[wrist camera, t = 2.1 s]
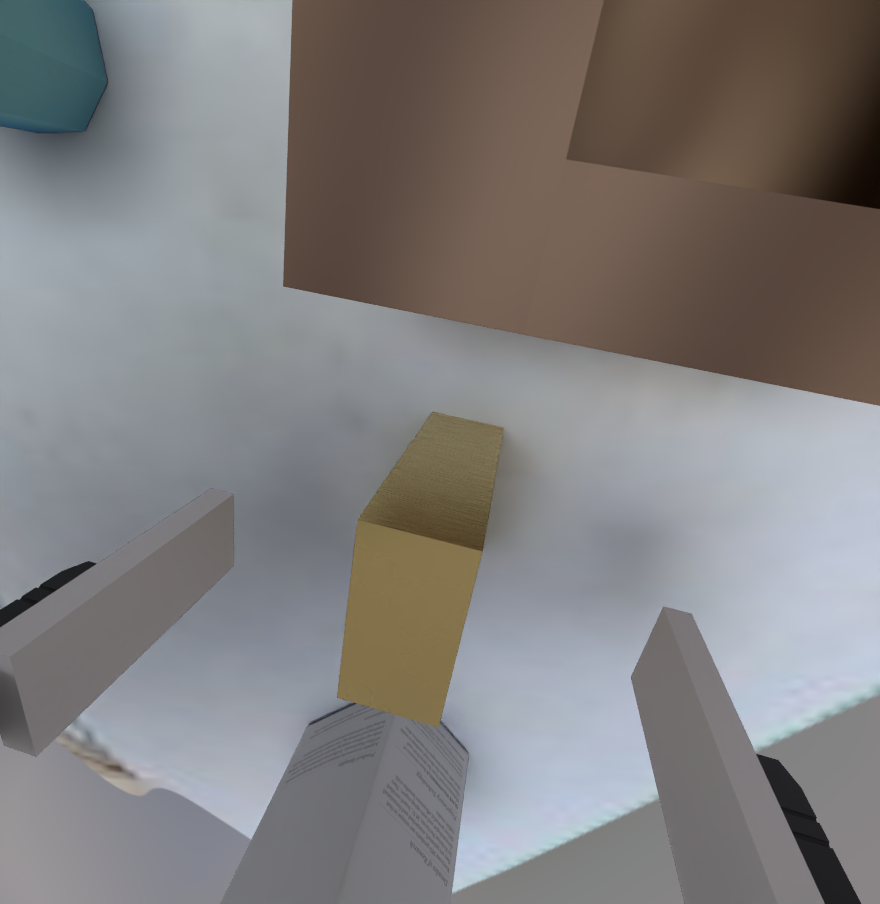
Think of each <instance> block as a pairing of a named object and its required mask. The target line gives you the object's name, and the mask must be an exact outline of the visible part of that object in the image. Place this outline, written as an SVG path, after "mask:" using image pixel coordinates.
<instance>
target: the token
mask: <svg viewBox="0 0 880 904" xmlns="http://www.w3.org/2000/svg"><path fill="white" fill-rule="evenodd" d="M503 429H504V428H502V427H498V426H493V425H489V424H484V423H480V422H475V421H471V420H466V419H462V418H457V417H453V416H448V415H444V414H439V413H435V412H432V413H431V415H430V416H429V418H428V419H427V421H426V422H425V423H424V425H423V426H422V428H421V429H420V431H419V432H418V434H417V435H416V436H415V438H414V439H413V441H412V442H411V444H410V445H409V446H408V448H407V449H406V451H405V452H404V454H403V455H402V457H401V458H400V459H399V461H398V462H397V464H396V465H395V467H394V468H393V469H392V471H391V472H390V474H389V475H388V477H387V478H386V480H385V481H384V482H383V484H382V485H381V487H380V488H379V490H378V491H377V492H376V494H375V495H374V497H373V498H372V500H371V501H370V503H369V504H368V505H367V507H366V508H365V510H364V511H363V513H362V514H361V515H360V517H359V518H358V520H357V528H356V537H355V545H354V554H353V563H352V571H351V580H350V589H349V598H348V606H347V615H346V624H345V632H344V641H343V650H342V658H341V667H340V676H339V685H338V693H337V698H340V699H344V700H347V701H350V702H354V703H357V704H361V705H364V706H367V707H371V708H374V709H378V710H381V711H384V712H388V713H391V714H394V715H398V716H401V717H405V718H408V719H411V720H415V721H418V722H422V723H425V724H428V725H432V726H435V727H438V728H439V724H440V720H441V716H442V712H443V708H444V704H445V700H446V696H447V692H448V688H449V684H450V680H451V676H452V672H453V668H454V664H455V660H456V656H457V652H458V648H459V644H460V640H461V636H462V632H463V628H464V624H465V620H466V616H467V612H468V608H469V604H470V600H471V596H472V592H473V588H474V584H475V580H476V575H477V571H478V567H479V563H480V559H481V555H482V551H483V546H484V540H485V534H486V528H487V522H488V516H489V511H490V505H491V499H492V493H493V487H494V481H495V475H496V470H497V464H498V458H499V452H500V446H501V440H502V435H503Z"/></svg>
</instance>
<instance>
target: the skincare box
mask: <svg viewBox="0 0 880 904" xmlns="http://www.w3.org/2000/svg"><path fill="white" fill-rule="evenodd" d="M468 759H469V756H468V753H467V751H466V750H465V749H464V748H463V747H462V746H461V745H460V744H459V743H458V742H457V740H456V739H455V738H454V737H453V736H452V735H451V734H450V733H449V732H448V730H447V729H446V728H445V727H444V726H443V725H442V724H441V723H440V724H439V728H438V727H435V726H432V725H428V724H425V723H422V722H418V721H415V720H411V719H408V718H405V717H401V716H398V715H394V714H391V713H388V712H384V711H381V710H378V709H374V708H371V707H367V706H364V705H361V704H355V705H352V706H350V707H348V708H346V709H344V710H342V711H340V712H337V713H335V714H333V715H331V716H329V717H327V718H325V719H322V720H320V721H318V722H316V723H314V724H312V725H310V726H308V727H306V729H305V732H304V734H303V736H302V738H301V740H300V742H299V744H298V746H297V748H296V750H295V752H294V754H293V757H292V759H291V761H290V763H289V765H288V767H287V769H286V771H285V773H284V775H283V777H282V779H281V781H280V783H279V785H278V787H277V789H276V791H275V793H274V795H273V797H272V799H271V801H270V803H269V805H268V807H267V809H266V811H265V813H264V815H263V817H262V819H261V821H260V824H259V826H258V828H257V830H256V832H255V834H254V836H253V838H252V840H251V842H250V844H249V846H248V848H247V850H246V852H245V854H244V856H243V858H242V860H241V862H240V864H239V866H238V868H237V870H236V872H235V874H234V876H233V878H232V880H231V882H230V884H229V886H228V888H227V890H226V893H225V895H224V897H223V899H222V901H221V903H220V904H450V902H451V894H452V886H453V879H454V871H455V863H456V855H457V847H458V839H459V830H460V822H461V814H462V806H463V798H464V790H465V782H466V775H467V766H468Z"/></svg>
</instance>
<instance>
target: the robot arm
mask: <svg viewBox="0 0 880 904" xmlns="http://www.w3.org/2000/svg"><path fill="white" fill-rule="evenodd" d="M233 566H234V499H233V494H231V493H227V492H223V491H219V490H215V489H210V490H208V491H206V492H205V493H203V494H202V495H200V496H199V497H197V498H196V499H194V500H193V501H191V502H190V503H188V504H187V505H185V506H184V507H182V508H181V509H179V510H178V511H176V512H175V513H173V514H172V515H170V516H169V517H167V518H166V519H164V520H163V521H161V522H159V523H158V524H156V525H155V526H153V527H152V528H150V529H149V530H147V531H146V532H144V533H143V534H141V535H140V536H138V537H137V538H135V539H134V540H132V541H131V542H129V543H128V544H126V545H125V546H123V547H122V548H120V549H119V550H117V551H116V552H114V553H112V554H111V555H109V556H108V557H106V558H105V559H103V560H102V561H100V562H99V563H97V564H96V563H93V562H89V561H88V562H85V563H82V564H80V565H77V566H74V567H72V568H69V569H66V570H64V571H62V572H60V573H58V574H57V575H55V576H54V577H52V578H50V579H49V580H47V581H46V582H44V583H42V584H41V585H40V587H39V588H34V589H33V590H31V591H30V592H28V593H26V594H25V595H23V596H22V598H21V599H20V600H15V601H14V602H12V603H10V604H9V605H7V606H6V607H4V608H3V609H1V610H0V735H1V738H2V741H3V744H4V746H7V747H10V748H13V749H15V750H18V751H21V752H24V753H27V754H30V755H33V756H35V757H37V756H38V755H39V754H40V753H41V752H42V751H43V750H44V749H45V748H46V747H47V746H48V745H49V744H50V743H51V742H52V741H53V740H54V739H55V738H56V737H57V736H58V735H59V734H60V733H61V732H62V731H63V730H65V729H66V728H67V727H68V726H69V725H70V724H71V723H72V722H73V721H74V720H75V719H76V718H77V717H78V716H79V715H80V714H81V713H82V712H83V711H84V710H85V709H86V708H87V707H88V706H89V705H90V704H91V703H92V702H94V701H95V700H96V699H97V698H98V697H99V696H100V695H101V694H102V693H103V692H104V691H105V690H106V689H107V688H108V687H109V686H110V685H111V684H112V683H113V682H114V681H115V680H116V679H117V678H118V677H119V676H120V675H121V674H123V673H124V672H125V671H126V670H127V669H128V668H129V667H130V666H131V665H132V664H133V663H134V662H135V661H136V660H137V659H138V658H139V657H140V656H141V655H142V654H143V653H144V652H145V651H146V650H147V649H148V648H149V647H150V646H151V645H153V644H154V643H155V642H156V641H157V640H158V639H159V638H160V637H161V636H162V635H163V634H164V633H165V632H166V631H167V630H168V629H169V628H170V627H171V626H172V625H173V624H174V623H175V622H176V621H177V620H178V619H179V618H180V617H182V616H183V615H184V614H185V613H186V612H187V611H188V610H189V609H190V608H191V607H192V606H193V605H194V604H195V603H196V602H197V601H198V600H199V599H200V598H201V597H202V596H203V595H204V594H205V593H206V592H207V591H208V590H209V589H211V588H212V587H213V586H214V585H215V584H216V583H217V582H218V581H219V580H220V579H221V578H222V577H223V576H224V575H225V574H226V573H227V572H228V571H229V570H230V569H231V568H232V567H233ZM631 680H632V684H633V688H634V693H635V697H636V701H637V705H638V710H639V714H640V718H641V722H642V726H643V731H644V735H645V739H646V743H647V748H648V752H649V756H650V760H651V765H652V769H653V773H654V777H655V782H656V786H657V790H658V794H659V798H660V803H661V807H662V811H663V815H664V820H665V824H666V828H667V832H668V837H669V841H670V845H671V849H672V853H673V858H674V862H675V866H676V870H677V874H678V879H679V883H680V887H681V892H682V896H683V900H684V904H861V902H860V900H859V899H858V897H857V895H856V893H855V891H854V889H853V887H852V885H851V883H850V881H849V879H848V878H847V875H846V874H845V872H844V870H843V868H842V866H841V864H840V862H839V860H838V858H837V856H836V854H835V852H834V850H833V849H832V848H830V847H829V841H828V839H827V837H826V835H825V833H824V831H823V829H822V827H821V825H820V823H817V821H816V818H817V817H816V815H815V813H814V812H813V810H812V808H811V806H810V804H809V802H808V800H807V798H806V796H805V794H804V792H803V790H802V788H801V787H800V786H799V785H798V783H797V782H796V781H795V780H794V779H793V778H792V776H791V775H790V774H789V773H788V771H787V770H786V769H785V768H784V766H782V764H781V763H780V762H779V760H776V759H772V758H769V757H765V756H762V755H758V754H756V753H755V751H754V749H753V746H752V744H751V742H750V740H749V738H748V736H747V733H746V731H745V729H744V727H743V725H742V722H741V720H740V718H739V716H738V714H737V712H736V709H735V707H734V705H733V703H732V701H731V698H730V696H729V694H728V692H727V690H726V688H725V685H724V683H723V681H722V679H721V677H720V675H719V672H718V670H717V668H716V666H715V664H714V661H713V659H712V657H711V655H710V653H709V651H708V648H707V646H706V644H705V642H704V640H703V638H702V635H701V633H700V631H699V629H698V627H697V624H696V622H695V620H694V618H693V616H692V614H690V613H686V612H683V611H679V610H675V609H671V608H667V607H663V609H662V611H661V613H660V615H659V617H658V619H657V622H656V624H655V626H654V628H653V630H652V632H651V635H650V637H649V639H648V641H647V643H646V645H645V648H644V650H643V652H642V654H641V656H640V658H639V661H638V663H637V665H636V667H635V669H634V671H633V674H632V676H631Z"/></svg>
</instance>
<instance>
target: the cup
mask: <svg viewBox="0 0 880 904" xmlns="http://www.w3.org/2000/svg"><path fill="white" fill-rule="evenodd" d="M107 83H108V81H107V76H106V71H105V67H104V62H103V57H102V53H101V48H100V43H99V38H98V34H97V29H96V24H95V19H94V15H93V10H92V9H91V8H90V7H89V6H88V5H87V4H86V2H85V1H84V0H0V126H3V127H8V128H14V129H19V130H25V131H30V132H36V133H54V132H75V131H85V130H86V127H87V125H88V123H89V121H90V119H91V117H92V115H93V113H94V110H95V108H96V106H97V104H98V102H99V100H100V98H101V95H102V93H103V91H104V89H105V87H106V85H107Z"/></svg>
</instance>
